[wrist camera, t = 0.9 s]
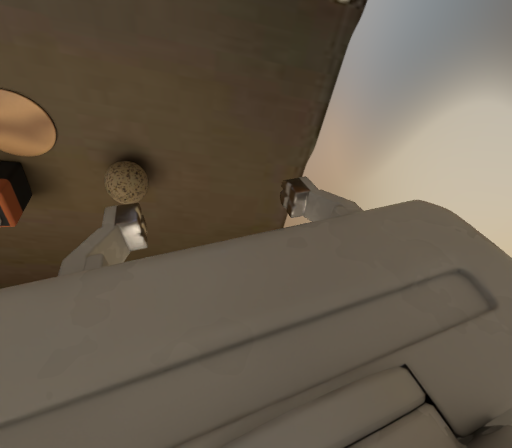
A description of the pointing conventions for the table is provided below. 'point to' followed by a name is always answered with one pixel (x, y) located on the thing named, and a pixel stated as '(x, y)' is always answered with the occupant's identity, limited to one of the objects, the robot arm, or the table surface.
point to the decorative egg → (126, 182)
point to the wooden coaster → (24, 126)
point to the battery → (12, 193)
